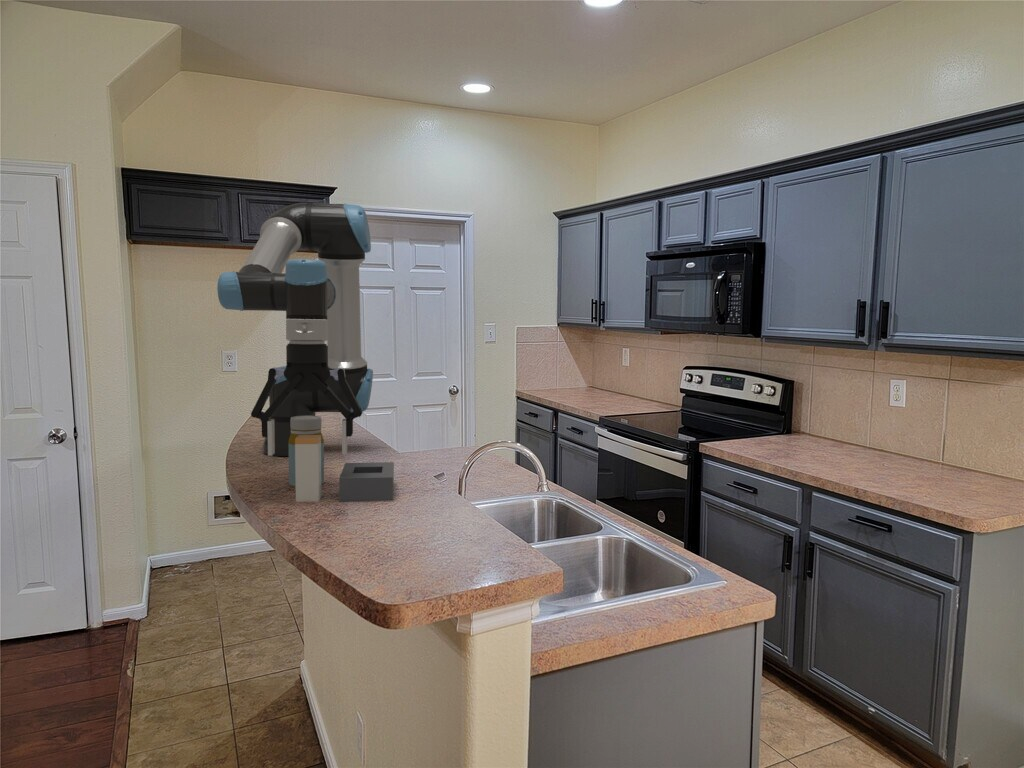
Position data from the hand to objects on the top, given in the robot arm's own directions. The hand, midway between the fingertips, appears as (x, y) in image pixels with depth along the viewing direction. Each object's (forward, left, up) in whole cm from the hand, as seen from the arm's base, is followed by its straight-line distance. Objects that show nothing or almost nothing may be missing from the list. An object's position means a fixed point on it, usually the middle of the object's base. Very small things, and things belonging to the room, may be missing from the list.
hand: (308, 453), depth 129 cm
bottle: (-12, -2, -10) cm, 16 cm away
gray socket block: (-4, +11, -10) cm, 15 cm away
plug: (0, 0, -10) cm, 10 cm away
